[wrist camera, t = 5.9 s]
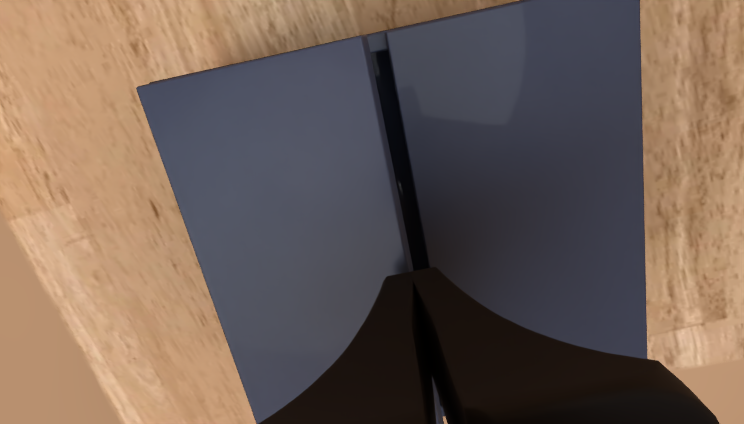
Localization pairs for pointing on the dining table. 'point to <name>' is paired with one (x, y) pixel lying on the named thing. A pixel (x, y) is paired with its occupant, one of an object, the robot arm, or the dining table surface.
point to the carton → (525, 161)
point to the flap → (285, 205)
